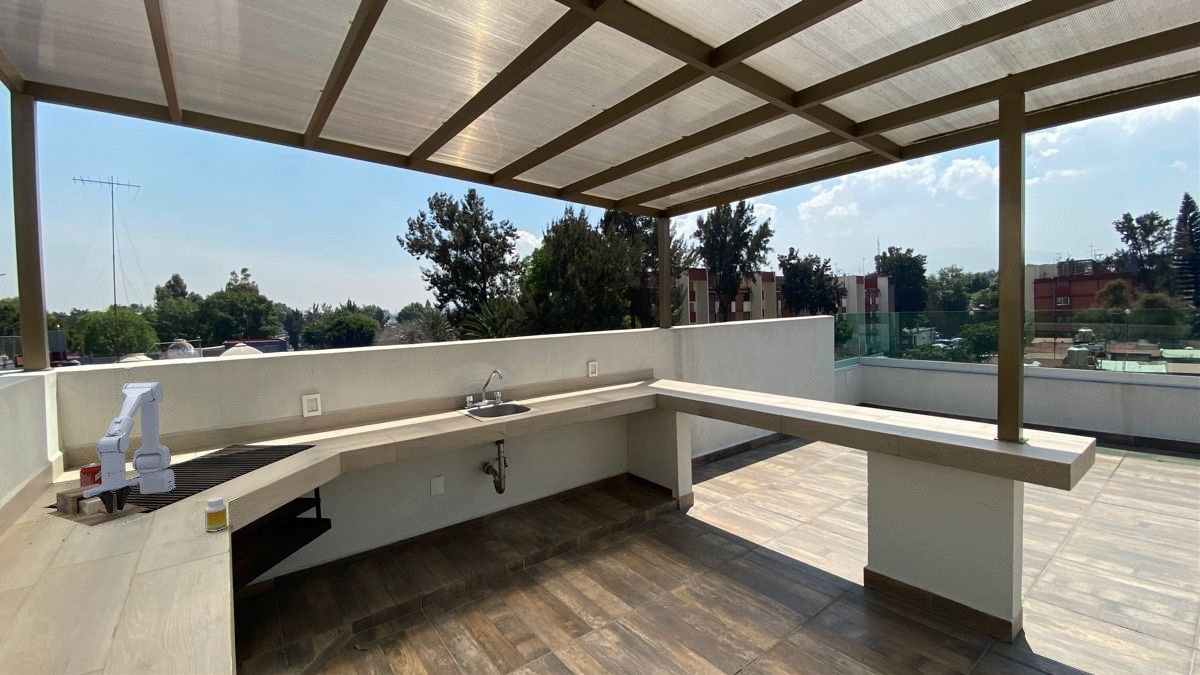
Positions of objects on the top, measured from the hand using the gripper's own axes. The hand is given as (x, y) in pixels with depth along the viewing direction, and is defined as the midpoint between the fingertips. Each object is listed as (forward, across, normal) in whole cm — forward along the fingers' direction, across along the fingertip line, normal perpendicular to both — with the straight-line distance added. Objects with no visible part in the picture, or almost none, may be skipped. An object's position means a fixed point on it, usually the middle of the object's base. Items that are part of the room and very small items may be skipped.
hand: (115, 511), depth 161 cm
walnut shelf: (+2, 0, +10) cm, 10 cm away
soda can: (+3, +9, +35) cm, 36 cm away
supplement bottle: (+3, +7, -40) cm, 41 cm away
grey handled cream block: (+1, 0, +8) cm, 8 cm away
